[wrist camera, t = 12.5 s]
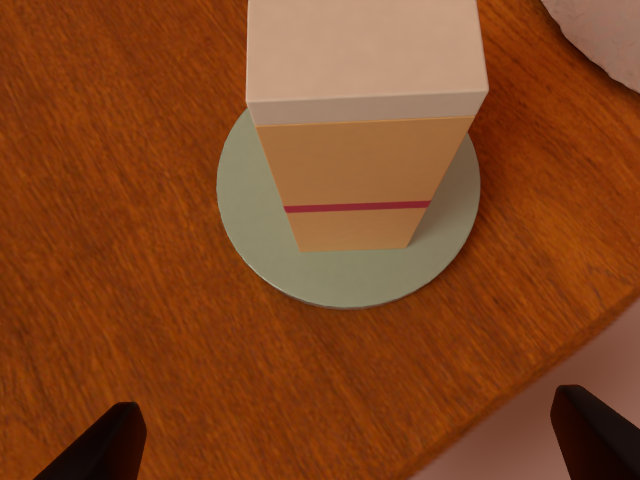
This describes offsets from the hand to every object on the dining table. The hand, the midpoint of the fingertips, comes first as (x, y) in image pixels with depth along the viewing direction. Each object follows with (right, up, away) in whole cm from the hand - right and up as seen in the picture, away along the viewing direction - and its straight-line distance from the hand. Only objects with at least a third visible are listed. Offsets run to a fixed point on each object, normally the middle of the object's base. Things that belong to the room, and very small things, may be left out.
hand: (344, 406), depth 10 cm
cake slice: (+1, +6, +13) cm, 14 cm away
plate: (+1, +7, +14) cm, 15 cm away
